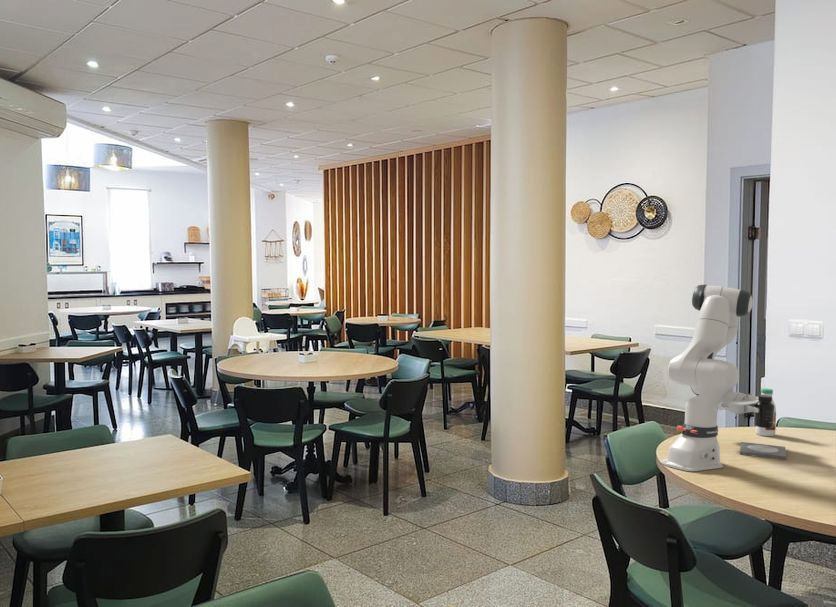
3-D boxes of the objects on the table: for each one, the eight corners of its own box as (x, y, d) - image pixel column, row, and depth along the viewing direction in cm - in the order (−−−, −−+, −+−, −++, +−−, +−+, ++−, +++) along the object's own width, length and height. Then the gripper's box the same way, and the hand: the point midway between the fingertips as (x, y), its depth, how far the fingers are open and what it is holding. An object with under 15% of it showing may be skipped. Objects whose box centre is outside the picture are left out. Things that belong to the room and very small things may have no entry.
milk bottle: (757, 436, 299) (759, 390, 298) (753, 432, 306) (755, 387, 305) (777, 437, 297) (779, 391, 296) (772, 433, 304) (774, 388, 303)
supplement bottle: (749, 424, 275) (751, 394, 274) (763, 423, 277) (764, 394, 276) (763, 428, 268) (765, 398, 268) (777, 427, 271) (779, 397, 270)
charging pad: (786, 459, 263) (786, 456, 262) (739, 454, 270) (739, 450, 270) (785, 449, 277) (785, 446, 277) (740, 444, 284) (741, 441, 284)
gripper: (718, 397, 279) (747, 403, 267) (754, 393, 288) (784, 399, 276) (718, 412, 280) (747, 420, 267) (753, 408, 288) (783, 415, 276)
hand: (766, 409), depth 272 cm, fingers closed on supplement bottle, 7 cm apart
